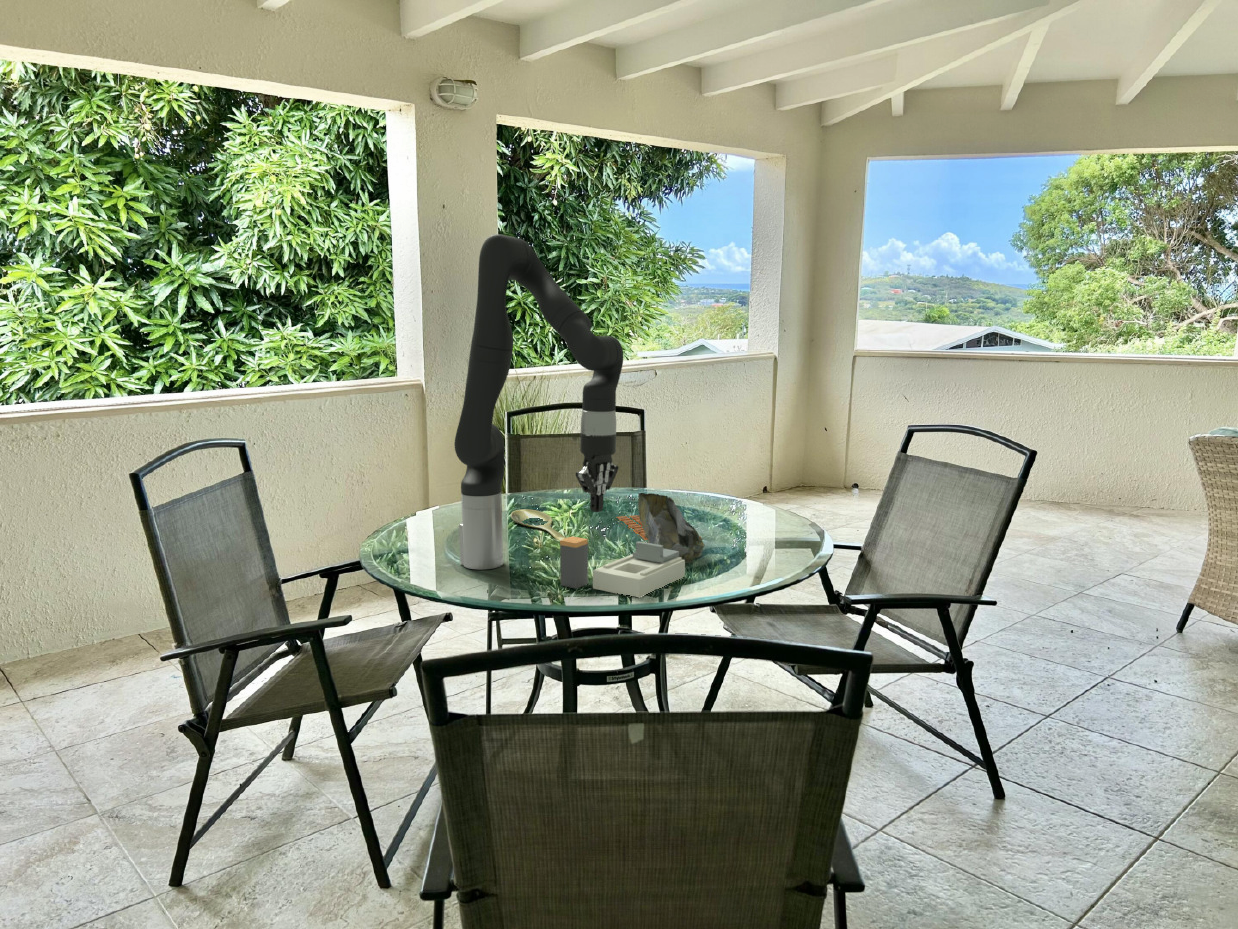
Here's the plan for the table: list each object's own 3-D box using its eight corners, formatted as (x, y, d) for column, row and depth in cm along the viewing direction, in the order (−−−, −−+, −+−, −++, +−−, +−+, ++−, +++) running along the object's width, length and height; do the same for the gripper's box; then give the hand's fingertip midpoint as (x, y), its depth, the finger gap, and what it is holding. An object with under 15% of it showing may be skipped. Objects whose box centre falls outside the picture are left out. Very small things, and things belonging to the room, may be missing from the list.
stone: (697, 589, 213) (692, 533, 240) (708, 551, 209) (702, 499, 237) (625, 573, 212) (629, 519, 240) (635, 535, 208) (638, 485, 236)
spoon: (587, 548, 235) (587, 540, 234) (548, 553, 230) (548, 545, 230) (537, 513, 265) (537, 506, 265) (503, 516, 261) (503, 509, 260)
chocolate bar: (662, 517, 264) (662, 512, 263) (703, 541, 236) (703, 536, 235) (614, 520, 259) (614, 516, 259) (650, 546, 231) (650, 540, 231)
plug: (560, 585, 197) (560, 540, 195) (572, 580, 200) (572, 536, 198) (576, 588, 194) (575, 543, 193) (588, 583, 198) (587, 539, 196)
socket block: (592, 588, 194) (592, 568, 194) (639, 568, 209) (639, 549, 208) (639, 598, 188) (639, 577, 187) (684, 577, 202) (684, 557, 201)
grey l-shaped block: (632, 557, 202) (632, 541, 202) (649, 551, 208) (649, 535, 207) (663, 563, 198) (663, 547, 197) (679, 556, 203) (679, 540, 203)
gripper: (602, 426, 200) (600, 503, 203) (565, 432, 189) (563, 514, 192) (630, 430, 195) (628, 508, 199) (594, 436, 185) (592, 519, 188)
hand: (596, 511), depth 195 cm, fingers closed
